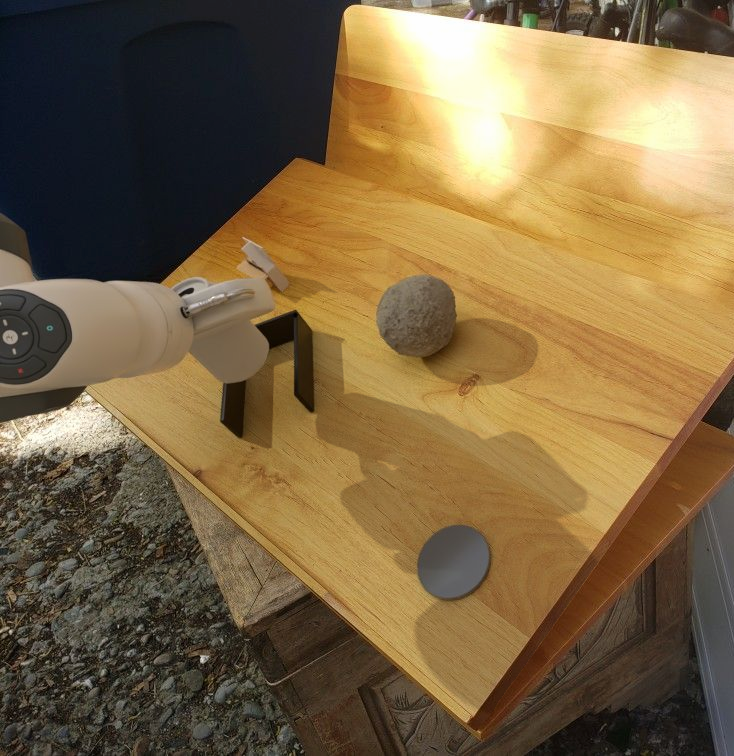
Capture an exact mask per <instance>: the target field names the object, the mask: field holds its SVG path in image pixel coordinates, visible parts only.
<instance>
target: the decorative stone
mask: <svg viewBox="0 0 734 756" xmlns="http://www.w3.org/2000/svg"><path fill="white" fill-rule="evenodd" d="M456 305H457V304H456V296H455V293H454V291H453V290H452V288H451V286H450V285H449V284H447V283H446V281H444V280H443V279H442V278H439V277H435V276H434V275H431V274H418V275H412V276H408V277H406V278H403V279H401V280H399V281H398V282H396V283H393V284H392V285H391V286H389V287H388V288H387V289H386V290H385V291H384V292H383V294H382V296H381V297H380V298H379V302H378V304H377V309H376V313H375V315H376V321H375V323H376V327H377V328H378V333H379V336H380V337H381V338H382V340H383V341H384V343H385V344H386V345H387V346H389V347H390V349H391V350H393V351H394V352H395V353H397V354H398V355H399V356H405V357H413V358H414V357H415V358H425V357H430V356H431V355H433V354H436V353H437V352H439V351H440V350H441V349H443V348H444V347H446V346H447V345H448V344H449V342H450V341H451V339H452V337H453V333H454V331H455V327H456V323H457V317H458V314H457V312H456V307H457V306H456Z"/></svg>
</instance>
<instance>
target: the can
mask: <svg viewBox="0 0 734 756" xmlns="http://www.w3.org/2000/svg"><path fill="white" fill-rule="evenodd" d="M215 284H217V283H216V282H214V281H209V280H208V279H206V278H205V277H201V276H194V277H189V278H186V279H183V280H181V281H180V282H178V283H177V284H174V285H173V286H172V287H171V288H170V289H171V290H173V291H174V292H176V293H177V294H178V295H179V296H180V297H184V296H187V295H189V294H192V293H194V292H197V291H200V290H202V289H205V288H207V287H210V286H213V285H215ZM269 352H270V349H269V343H268V341H267V339H266V338H265V337H264V335H263V334H262V333H261V332H260V331H259V330H258V329H257V327H256V326H255V324H254V323H253V321H252V320H249V321H246V322H243V323H241V324H238V325H235V326H233V327H230V328H228V329H225V330H222V331H220V332H217V333H214V334H212V335H209V336H206V337H204V338H201V339H198V340H196V341H193V342H192V344H191V347H190V349H189V351H188V353H189V354H190V355H191V356H192V357H193V358H194V359H195V360H196V361H197V362H198V363H199V364H200V365H201V366H202V367H203V368H204V369H205V370H206V371H208V373H210V375H212V377H214V378H215V380H217V381H219V382H220V383H222V384H223V383H235V382H241V381H244V380H246V381H247V380H249V379H250V378H252V377H253V376H255V375H256V374H257V373H258V372H259V371H260V370H261V369H262V368H263V366H264V365H265V363H266V360H267V358H268V354H269Z"/></svg>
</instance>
